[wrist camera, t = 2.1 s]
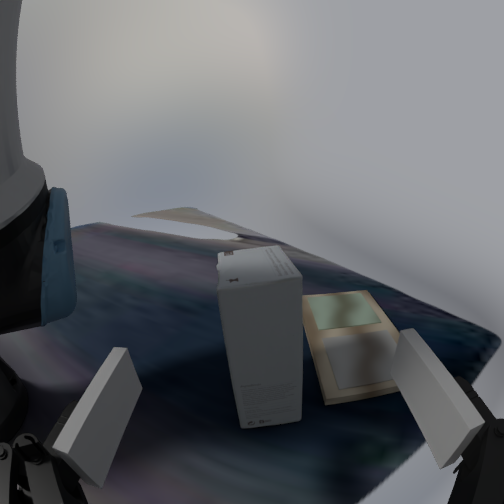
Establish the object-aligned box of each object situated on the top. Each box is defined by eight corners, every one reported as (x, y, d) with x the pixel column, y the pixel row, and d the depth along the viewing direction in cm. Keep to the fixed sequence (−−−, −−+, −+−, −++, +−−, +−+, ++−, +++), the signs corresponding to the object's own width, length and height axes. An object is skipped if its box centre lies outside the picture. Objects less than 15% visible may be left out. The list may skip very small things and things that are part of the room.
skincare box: (302, 422, 22) (311, 278, 18) (237, 431, 22) (215, 288, 17) (284, 367, 30) (283, 241, 26) (231, 373, 30) (215, 247, 25)
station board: (325, 405, 24) (326, 398, 24) (297, 301, 45) (297, 295, 44) (427, 383, 24) (430, 375, 23) (366, 295, 45) (366, 289, 44)
